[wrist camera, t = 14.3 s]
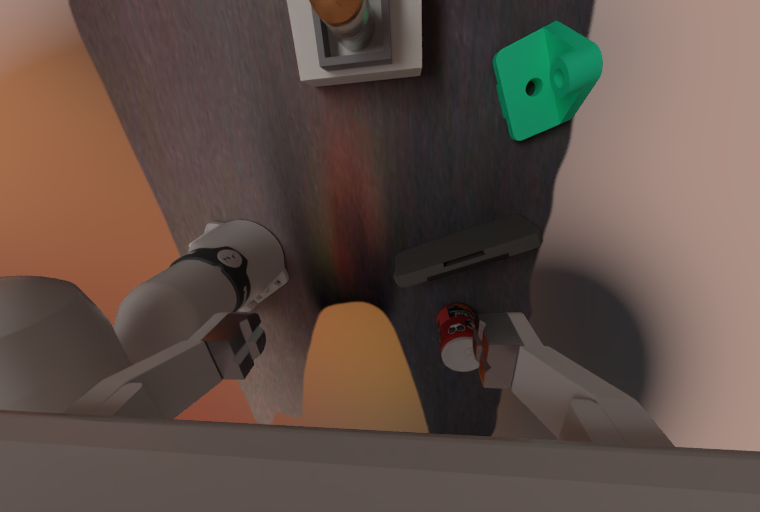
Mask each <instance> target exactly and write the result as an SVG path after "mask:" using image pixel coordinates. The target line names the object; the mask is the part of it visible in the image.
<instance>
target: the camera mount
mask: <svg viewBox="0 0 760 512" xmlns="http://www.w3.org/2000/svg"><path fill="white" fill-rule="evenodd" d="M602 65H603V61H602V54H601V51H600V49H599V47H598V46H597V45H596V44H595V43H594V42H592V41H591V40H589V39H587V38H585V37H584V36H582V35H580V34H579V33H577V32H575V31H574V30H572V29H570V28H569V27H567V26H565V25H563V24H562V23H560V22H558V21H555V22H553V23H551V24H549V25H547V26H545V27H543V28H541V29H539V30H538V31H536V32H534V33H532V34H530V35H528V36H526V37H524V38H522V39H520V40H519V41H517V42H515V43H513V44H511V45H509V46H507V47H505V48H503V49H502V50H500V51H499V52H498V53H497V54H496V55H495V56H494V59H493V67H494V71H495V75H496V79H497V83H498V84H497V85H496V88H497V92H498V96H499V100H500V104H501V109H502V113H503V117H504V118H506V121H507V125H508V129H509V133H510V137H511V138H512V139H513V140H518V141H521V140H524V139H526V138H529V137H531V136H533V135H536V134H538V133H540V132H543V131H545V130H547V129H550V128H552V127H554V126H557V125H559V124H561V123H564V122H566V121H568V120H571V119H572V118H573V116H574V115H575V113H576V112H577V110H578V109H579V107H580V106H581V104H582V103H583V101H584V100H585V98H586V97H587V96H588V94H589V93H590V91H591V90H592V88H593V87H594V85H595V84H596V82H597V81H598V79H599V78H600V75H601V72H602ZM529 81H532V82H533V83H534V84H535V91H534V93H533V94H532V95H531V96H529V95H527V93H526V85H527V83H528V82H529Z"/></svg>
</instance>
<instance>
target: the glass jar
mask: <svg viewBox="0 0 760 512" xmlns="http://www.w3.org/2000/svg"><path fill="white" fill-rule="evenodd" d="M309 1H310V4H311V6H312V8H313V9H314V11H315V12H316V13H317V15H318V16H319V17H320V18H321V19H322V21H323V22H324V23H325V24H326V26H327V27H328V28H329V29H330V31H331V32H332V33H333V34H334V36H335V37H336V38H337V39H338V41H339V42H340V43H341V44H342V46H343V47H345V48H346V49H348V50H350V51H360V50H363V49H364V48H366V47H367V46H368V45H369V44H370V42H371V41H372V39H373V36H374V33H375V18H374V15H373V12H372V8H371V5H370V2H369V0H309Z"/></svg>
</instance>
